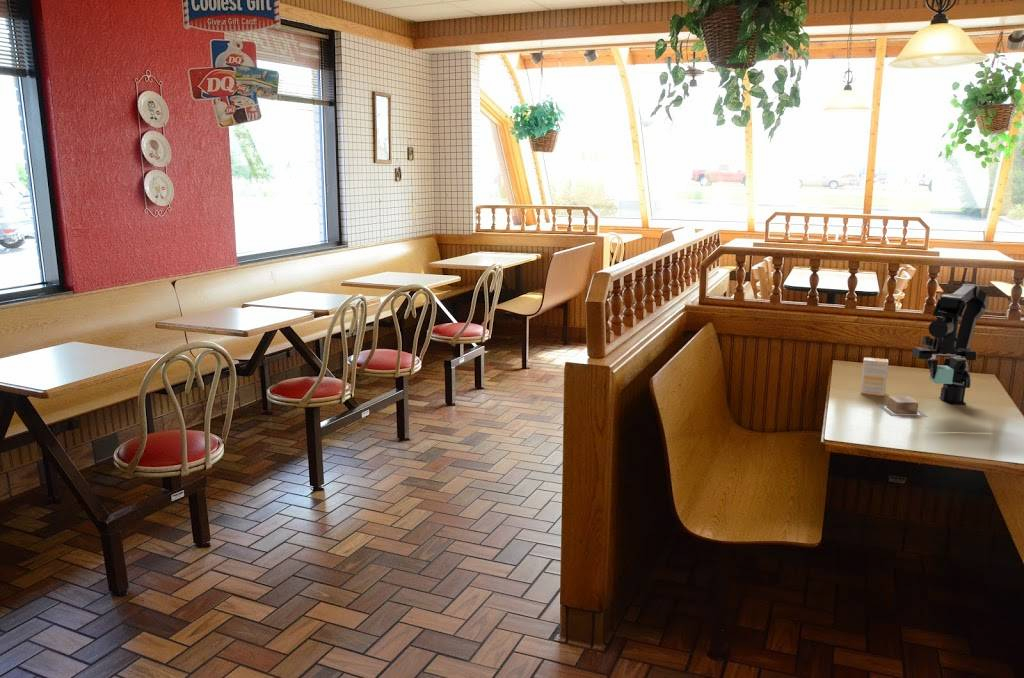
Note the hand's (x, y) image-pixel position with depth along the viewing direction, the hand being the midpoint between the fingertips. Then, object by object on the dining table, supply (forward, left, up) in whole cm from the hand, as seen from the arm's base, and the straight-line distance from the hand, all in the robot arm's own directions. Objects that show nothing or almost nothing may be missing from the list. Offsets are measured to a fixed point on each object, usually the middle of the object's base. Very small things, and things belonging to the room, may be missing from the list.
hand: (940, 378), depth 266 cm
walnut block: (+12, +1, -11) cm, 16 cm away
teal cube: (0, 0, -1) cm, 1 cm away
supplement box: (+14, -19, -12) cm, 26 cm away
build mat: (+12, +1, -12) cm, 17 cm away
